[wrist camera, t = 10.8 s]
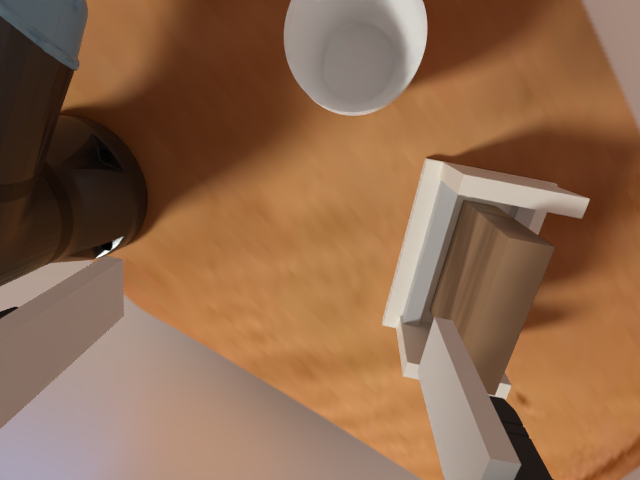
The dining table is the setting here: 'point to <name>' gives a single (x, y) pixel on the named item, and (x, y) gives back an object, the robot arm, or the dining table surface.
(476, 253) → the door panel
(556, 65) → the dining table surface
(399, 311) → the track frame
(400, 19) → the cup
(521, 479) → the robot arm
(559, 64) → the dining table surface
